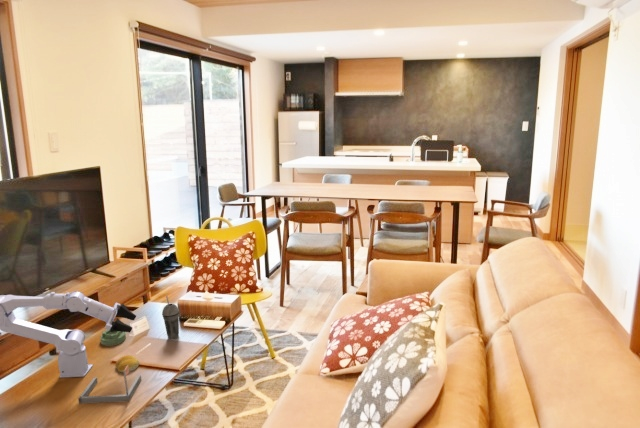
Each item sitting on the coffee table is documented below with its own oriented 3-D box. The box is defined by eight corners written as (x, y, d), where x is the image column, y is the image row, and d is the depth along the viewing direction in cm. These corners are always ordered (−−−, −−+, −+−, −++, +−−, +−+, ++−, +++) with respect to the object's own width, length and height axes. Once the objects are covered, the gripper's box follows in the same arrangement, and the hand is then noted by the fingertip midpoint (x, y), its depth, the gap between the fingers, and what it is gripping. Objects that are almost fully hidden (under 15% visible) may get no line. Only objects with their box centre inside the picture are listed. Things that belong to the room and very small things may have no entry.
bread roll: (121, 375, 180) (120, 366, 179) (113, 366, 187) (112, 357, 186) (143, 367, 185) (141, 358, 184) (134, 359, 192) (133, 350, 191)
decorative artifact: (130, 338, 209) (117, 333, 215) (128, 324, 208) (115, 318, 213) (109, 348, 201) (96, 342, 207) (107, 333, 200) (94, 327, 205)
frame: (79, 403, 163) (74, 373, 161) (94, 382, 176) (90, 353, 173) (129, 401, 164) (125, 370, 161) (141, 379, 177) (137, 351, 174)
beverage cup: (185, 335, 210) (181, 293, 206) (172, 342, 204) (167, 299, 200) (174, 332, 214) (169, 290, 209) (161, 338, 208) (156, 296, 203)
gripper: (98, 314, 173) (133, 328, 178) (108, 292, 186) (141, 305, 191) (90, 328, 175) (125, 341, 180) (100, 305, 188) (133, 318, 193)
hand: (133, 324), depth 185 cm, fingers open, 7 cm apart
